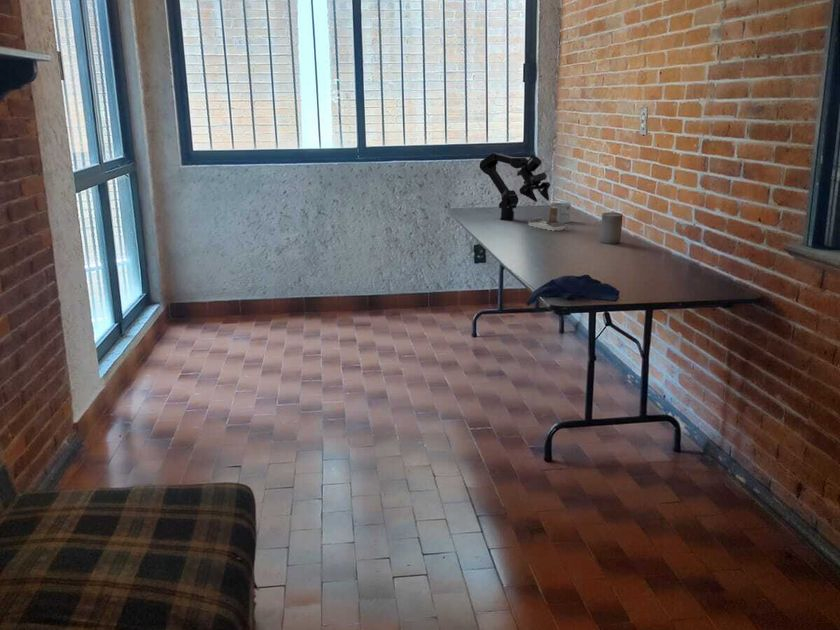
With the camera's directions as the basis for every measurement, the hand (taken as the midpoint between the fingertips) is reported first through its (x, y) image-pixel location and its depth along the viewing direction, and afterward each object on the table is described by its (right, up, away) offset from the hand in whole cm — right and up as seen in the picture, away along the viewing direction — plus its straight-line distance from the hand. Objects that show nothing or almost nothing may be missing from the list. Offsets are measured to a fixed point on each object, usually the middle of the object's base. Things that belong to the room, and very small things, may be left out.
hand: (542, 200), depth 396 cm
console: (+2, -14, +1) cm, 14 cm away
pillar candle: (+27, -25, -32) cm, 49 cm away
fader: (+5, -13, -3) cm, 14 cm away
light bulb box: (+13, -8, +21) cm, 26 cm away
